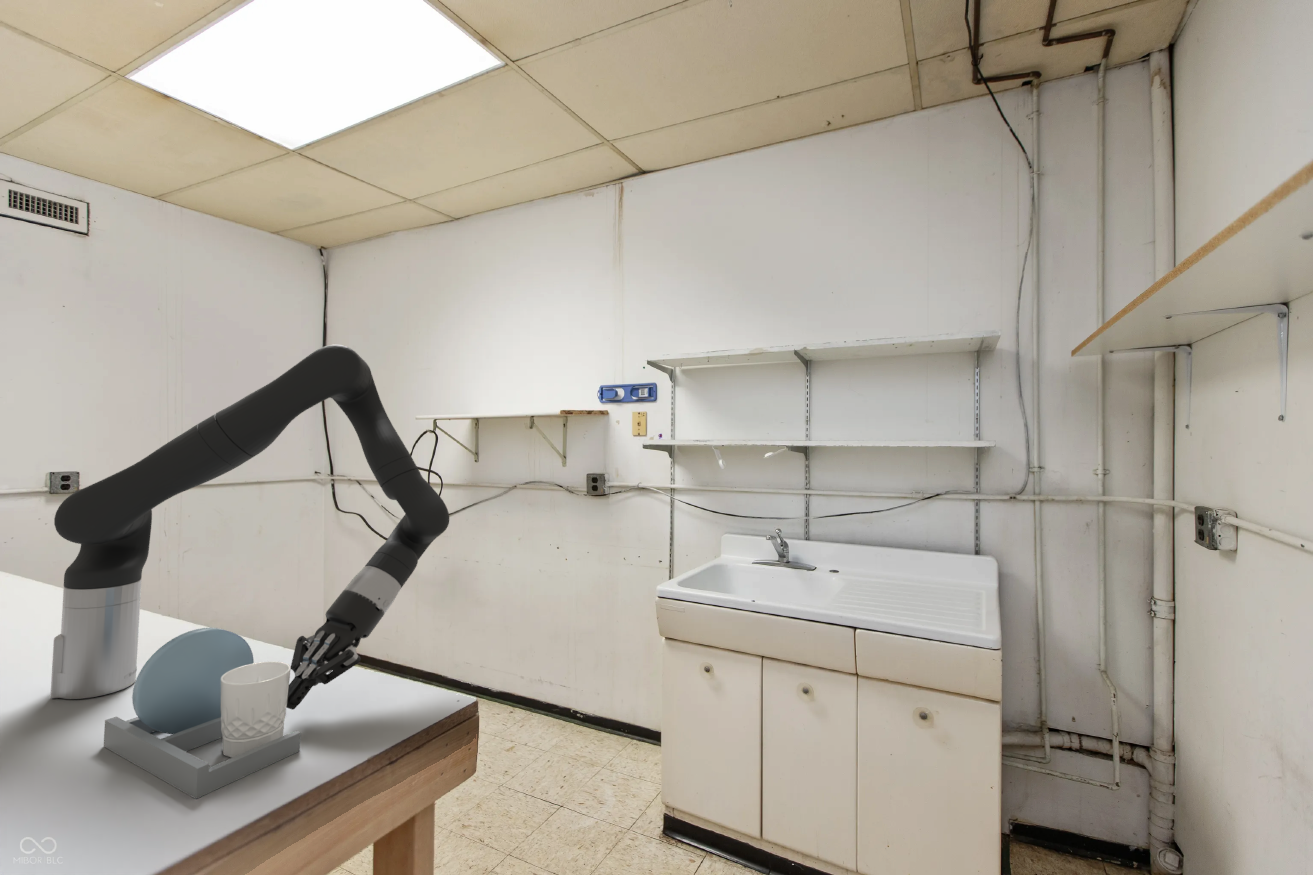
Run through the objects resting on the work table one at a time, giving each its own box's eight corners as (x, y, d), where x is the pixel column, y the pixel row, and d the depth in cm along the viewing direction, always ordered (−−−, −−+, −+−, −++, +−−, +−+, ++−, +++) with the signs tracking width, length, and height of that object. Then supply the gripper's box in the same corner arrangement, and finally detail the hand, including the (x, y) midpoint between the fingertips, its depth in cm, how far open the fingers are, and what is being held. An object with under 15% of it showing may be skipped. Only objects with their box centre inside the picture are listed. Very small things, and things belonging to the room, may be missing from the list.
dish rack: (230, 702, 90) (234, 613, 90) (322, 740, 80) (327, 639, 80) (103, 746, 76) (109, 640, 77) (195, 798, 66) (202, 677, 67)
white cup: (230, 768, 73) (234, 689, 73) (207, 747, 77) (211, 673, 77) (297, 742, 79) (301, 670, 79) (272, 725, 84) (275, 657, 84)
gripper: (324, 582, 94) (239, 684, 82) (379, 594, 88) (296, 705, 77) (352, 607, 98) (275, 706, 87) (406, 619, 93) (331, 728, 81)
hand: (285, 706), depth 82 cm, fingers closed
